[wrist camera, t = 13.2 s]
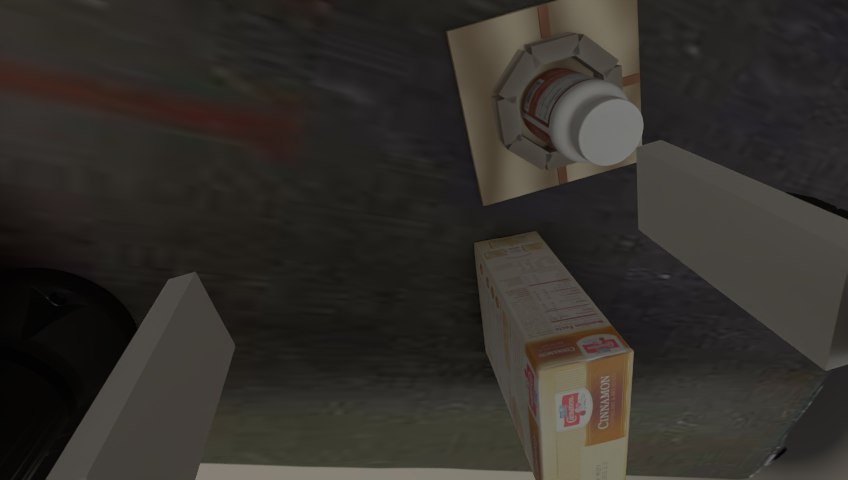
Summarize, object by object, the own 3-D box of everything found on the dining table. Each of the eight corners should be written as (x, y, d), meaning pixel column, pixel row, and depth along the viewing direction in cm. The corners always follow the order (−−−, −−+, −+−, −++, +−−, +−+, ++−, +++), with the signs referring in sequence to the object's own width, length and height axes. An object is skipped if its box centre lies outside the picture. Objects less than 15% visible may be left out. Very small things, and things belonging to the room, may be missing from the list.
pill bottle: (588, 126, 44) (656, 163, 35) (524, 145, 44) (573, 187, 34) (582, 57, 41) (653, 76, 32) (513, 77, 41) (563, 102, 32)
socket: (481, 202, 47) (488, 214, 45) (445, 31, 40) (451, 33, 37) (637, 157, 47) (654, 167, 45) (629, -22, 40) (649, -24, 37)
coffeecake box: (543, 341, 57) (627, 492, 39) (483, 353, 56) (542, 511, 39) (539, 228, 50) (638, 350, 32) (471, 241, 49) (536, 372, 32)
